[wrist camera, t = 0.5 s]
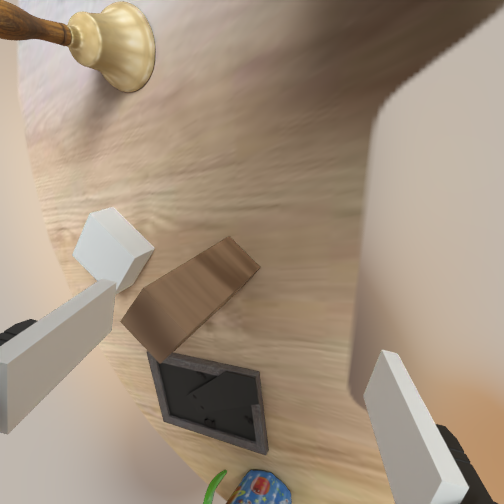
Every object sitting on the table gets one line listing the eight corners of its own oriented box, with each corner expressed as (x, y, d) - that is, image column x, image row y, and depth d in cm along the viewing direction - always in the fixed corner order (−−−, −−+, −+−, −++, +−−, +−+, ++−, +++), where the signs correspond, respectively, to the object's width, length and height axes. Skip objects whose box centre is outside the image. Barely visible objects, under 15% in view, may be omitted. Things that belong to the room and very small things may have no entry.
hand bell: (109, 99, 39) (-56, 88, 25) (87, 17, 36) (-108, -43, 23) (164, 82, 35) (5, 57, 22) (144, -11, 33) (-49, -104, 19)
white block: (114, 206, 44) (89, 213, 41) (156, 247, 44) (134, 258, 40) (96, 245, 49) (72, 255, 45) (134, 284, 48) (112, 296, 45)
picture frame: (261, 368, 43) (153, 345, 51) (254, 378, 42) (144, 353, 50) (270, 446, 48) (169, 414, 55) (264, 458, 46) (161, 423, 54)
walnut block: (229, 236, 38) (143, 288, 26) (260, 267, 38) (187, 334, 26) (207, 263, 41) (120, 321, 29) (236, 292, 40) (160, 363, 28)
